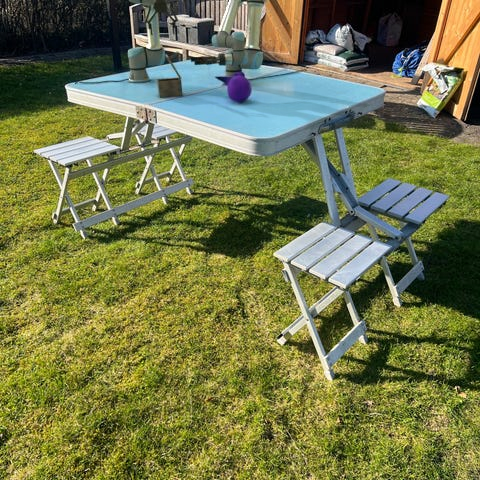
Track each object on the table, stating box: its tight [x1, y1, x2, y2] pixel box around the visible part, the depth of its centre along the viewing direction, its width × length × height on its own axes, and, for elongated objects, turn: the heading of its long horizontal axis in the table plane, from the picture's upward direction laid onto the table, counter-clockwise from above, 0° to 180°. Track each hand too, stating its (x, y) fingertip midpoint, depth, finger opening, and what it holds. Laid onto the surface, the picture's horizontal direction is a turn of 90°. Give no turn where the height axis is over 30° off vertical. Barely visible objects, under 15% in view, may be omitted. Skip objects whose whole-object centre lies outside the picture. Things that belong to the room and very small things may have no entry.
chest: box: [156, 77, 184, 99], centre depth 293 cm, size 15×9×10 cm, turn 105°
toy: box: [214, 71, 252, 103], centre depth 277 cm, size 16×18×27 cm
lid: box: [165, 50, 183, 81], centre depth 288 cm, size 16×9×8 cm
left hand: (162, 34), depth 277 cm, fingers open, 13 cm apart
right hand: (192, 61), depth 289 cm, fingers open, 13 cm apart
